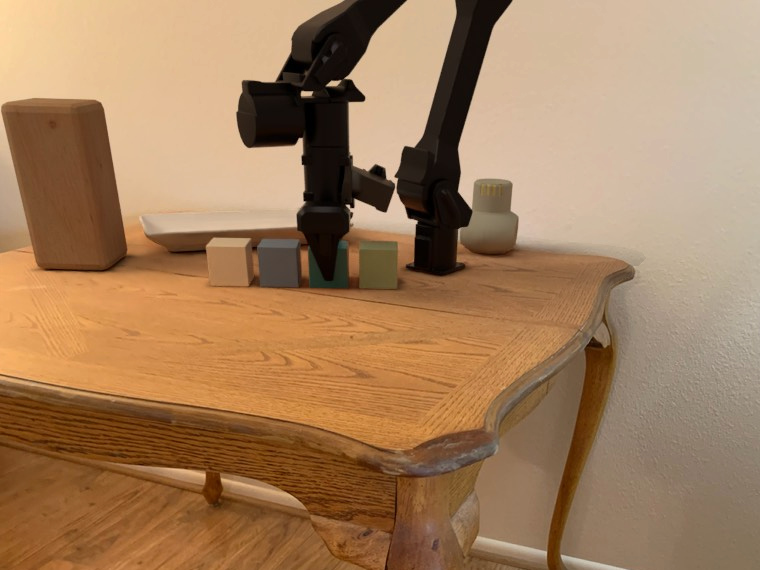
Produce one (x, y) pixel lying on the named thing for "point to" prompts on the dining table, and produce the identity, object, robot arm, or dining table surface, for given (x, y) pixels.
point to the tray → (220, 227)
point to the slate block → (279, 262)
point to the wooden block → (66, 182)
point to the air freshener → (491, 218)
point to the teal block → (339, 274)
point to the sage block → (378, 264)
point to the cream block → (230, 261)
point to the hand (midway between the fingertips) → (330, 275)
